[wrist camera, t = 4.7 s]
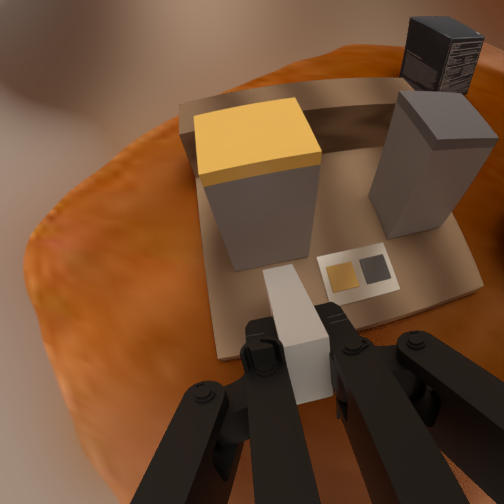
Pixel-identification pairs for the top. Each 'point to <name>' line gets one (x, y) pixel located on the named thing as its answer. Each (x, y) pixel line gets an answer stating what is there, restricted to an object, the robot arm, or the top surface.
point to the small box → (440, 54)
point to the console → (335, 220)
